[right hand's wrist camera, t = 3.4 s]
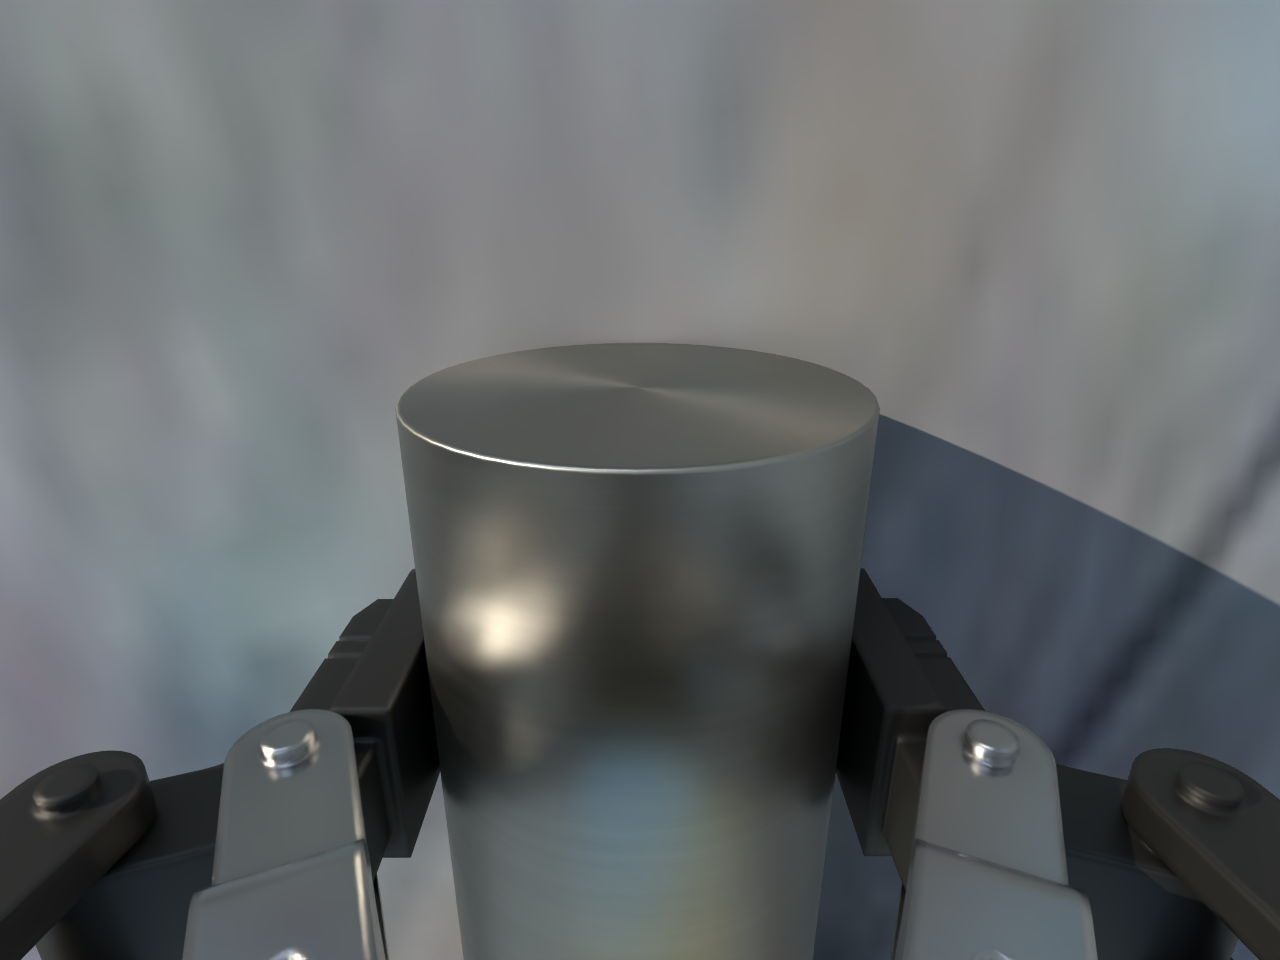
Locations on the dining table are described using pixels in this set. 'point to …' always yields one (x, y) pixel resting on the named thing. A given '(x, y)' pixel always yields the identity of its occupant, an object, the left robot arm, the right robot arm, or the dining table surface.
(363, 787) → the right robot arm
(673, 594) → the rod
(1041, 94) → the dining table surface
